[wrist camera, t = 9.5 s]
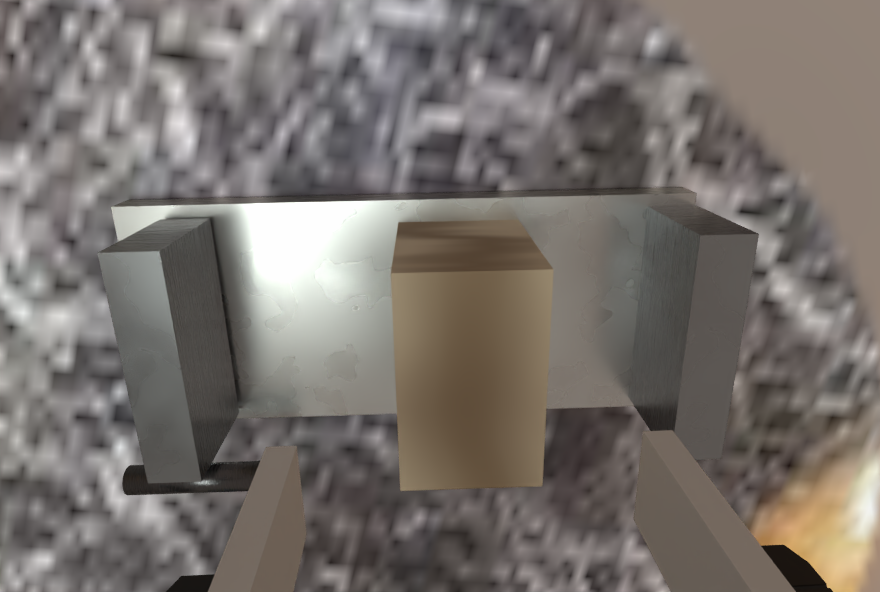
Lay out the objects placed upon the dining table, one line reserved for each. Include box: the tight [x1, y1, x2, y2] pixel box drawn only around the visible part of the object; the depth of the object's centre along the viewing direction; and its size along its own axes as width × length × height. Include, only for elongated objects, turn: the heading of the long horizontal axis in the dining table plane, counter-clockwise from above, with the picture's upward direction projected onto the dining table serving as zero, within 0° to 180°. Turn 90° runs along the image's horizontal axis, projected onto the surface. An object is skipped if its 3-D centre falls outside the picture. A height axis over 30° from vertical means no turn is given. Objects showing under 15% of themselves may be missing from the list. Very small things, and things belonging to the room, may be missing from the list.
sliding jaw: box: [98, 218, 260, 495], centre depth 24 cm, size 6×11×5 cm, turn 1°
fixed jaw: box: [628, 205, 759, 460], centre depth 24 cm, size 2×9×5 cm, turn 1°
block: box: [391, 220, 554, 491], centre depth 23 cm, size 5×8×7 cm, turn 1°
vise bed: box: [111, 187, 697, 419], centre depth 27 cm, size 24×10×2 cm, turn 91°
